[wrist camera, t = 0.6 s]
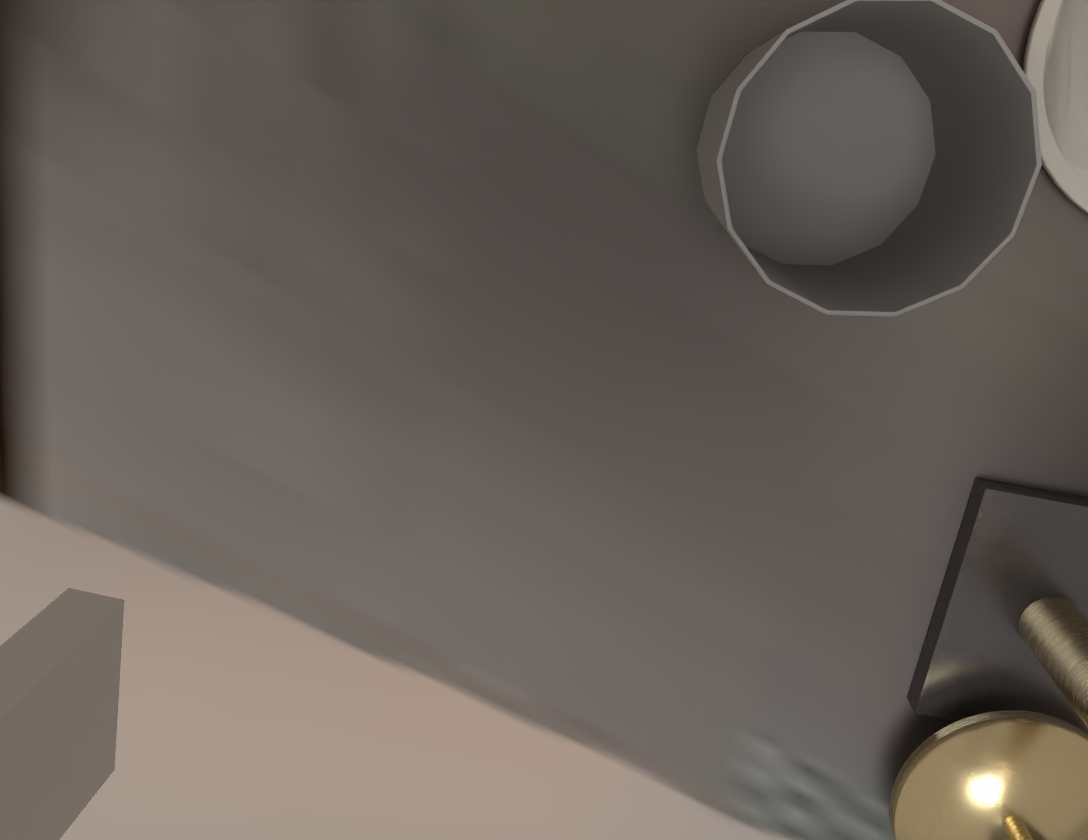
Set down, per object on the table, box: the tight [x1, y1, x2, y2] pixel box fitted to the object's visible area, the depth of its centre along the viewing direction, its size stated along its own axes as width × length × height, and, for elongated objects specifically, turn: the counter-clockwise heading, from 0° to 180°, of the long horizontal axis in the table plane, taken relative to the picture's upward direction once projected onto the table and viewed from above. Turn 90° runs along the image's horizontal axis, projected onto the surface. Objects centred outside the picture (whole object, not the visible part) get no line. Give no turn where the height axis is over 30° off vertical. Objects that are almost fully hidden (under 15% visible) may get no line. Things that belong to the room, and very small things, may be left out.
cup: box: [696, 0, 1042, 317], centre depth 31 cm, size 8×8×10 cm
